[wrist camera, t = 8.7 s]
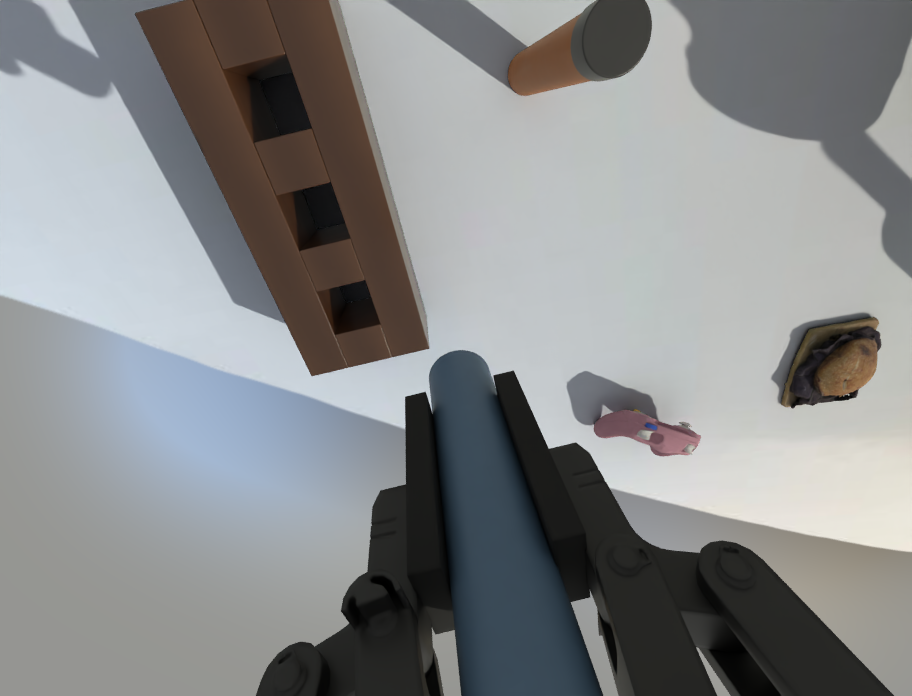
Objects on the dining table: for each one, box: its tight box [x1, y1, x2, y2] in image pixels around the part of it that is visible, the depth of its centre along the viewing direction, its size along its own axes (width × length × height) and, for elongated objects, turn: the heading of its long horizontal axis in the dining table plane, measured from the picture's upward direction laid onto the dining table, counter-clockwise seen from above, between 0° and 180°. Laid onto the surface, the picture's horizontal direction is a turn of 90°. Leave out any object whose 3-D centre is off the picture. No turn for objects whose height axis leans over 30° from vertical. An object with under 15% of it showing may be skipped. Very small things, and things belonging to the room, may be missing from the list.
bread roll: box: [781, 317, 881, 408], centre depth 42 cm, size 11×8×4 cm
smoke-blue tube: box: [429, 350, 603, 696], centre depth 11 cm, size 3×3×14 cm
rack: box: [135, 0, 429, 376], centre depth 28 cm, size 10×22×6 cm, turn 12°
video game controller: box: [594, 409, 701, 456], centre depth 42 cm, size 10×5×7 cm, turn 66°
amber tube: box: [508, 0, 652, 96], centre depth 21 cm, size 3×3×14 cm
